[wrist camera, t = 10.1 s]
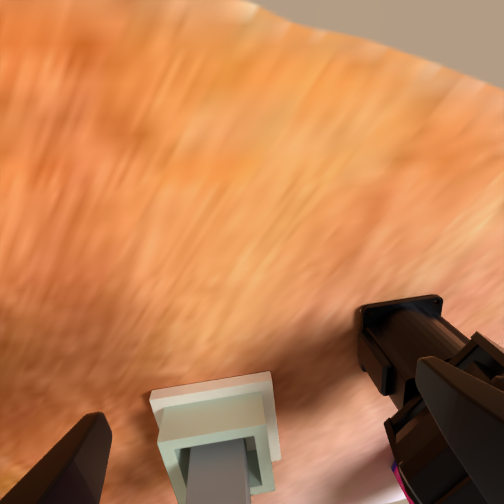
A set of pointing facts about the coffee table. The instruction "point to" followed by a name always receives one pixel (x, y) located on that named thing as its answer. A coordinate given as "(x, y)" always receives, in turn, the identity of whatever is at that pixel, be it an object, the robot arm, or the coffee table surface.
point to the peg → (219, 473)
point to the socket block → (218, 425)
